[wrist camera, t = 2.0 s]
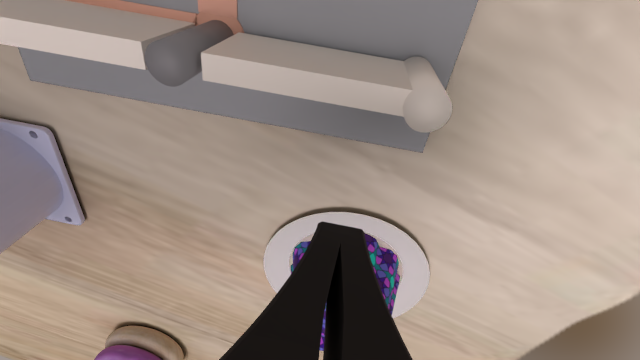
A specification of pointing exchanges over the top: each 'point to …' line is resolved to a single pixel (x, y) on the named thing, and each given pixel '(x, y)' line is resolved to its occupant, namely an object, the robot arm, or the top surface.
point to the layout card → (291, 25)
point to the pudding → (381, 258)
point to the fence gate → (331, 77)
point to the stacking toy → (140, 345)
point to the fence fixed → (111, 36)
